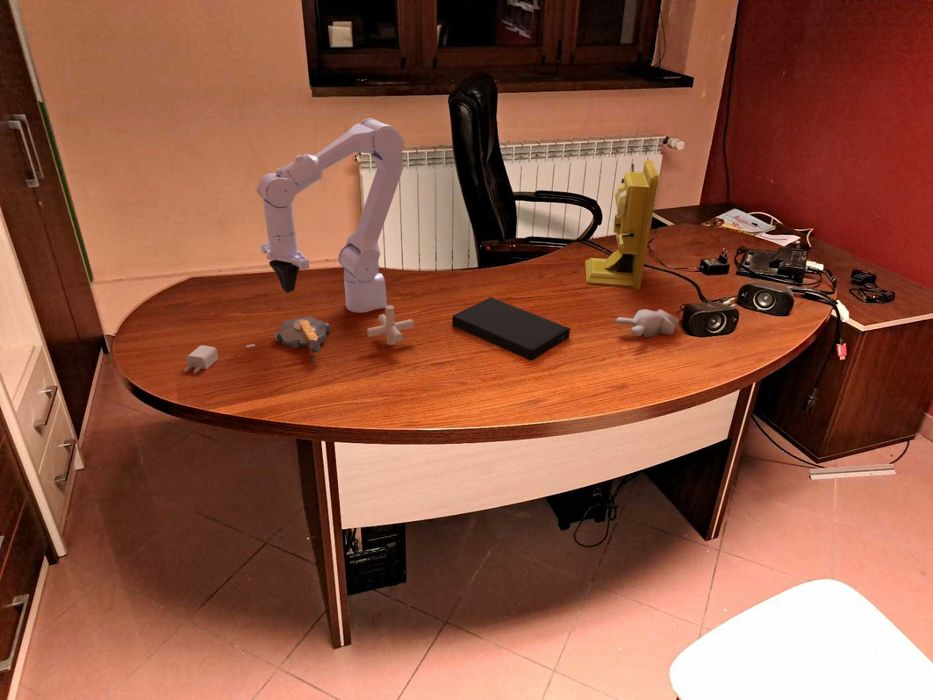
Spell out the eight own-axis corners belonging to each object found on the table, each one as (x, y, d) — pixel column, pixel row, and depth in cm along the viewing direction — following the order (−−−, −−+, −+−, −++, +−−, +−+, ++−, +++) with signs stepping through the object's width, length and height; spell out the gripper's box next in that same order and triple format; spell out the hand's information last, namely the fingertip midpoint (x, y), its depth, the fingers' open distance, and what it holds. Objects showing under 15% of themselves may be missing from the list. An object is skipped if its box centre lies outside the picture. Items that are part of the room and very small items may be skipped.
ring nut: (271, 330, 144) (268, 312, 142) (322, 320, 149) (320, 303, 147) (289, 366, 131) (287, 347, 129) (344, 354, 136) (343, 335, 134)
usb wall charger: (219, 364, 134) (216, 347, 132) (200, 381, 129) (196, 364, 127) (202, 361, 135) (198, 344, 133) (182, 378, 129) (178, 361, 127)
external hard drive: (491, 307, 161) (491, 296, 159) (569, 339, 148) (570, 327, 146) (452, 327, 151) (452, 315, 150) (531, 362, 138) (532, 350, 137)
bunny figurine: (690, 318, 148) (642, 325, 141) (683, 338, 151) (636, 346, 143) (660, 302, 156) (613, 308, 148) (655, 321, 158) (608, 328, 150)
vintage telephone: (584, 250, 195) (596, 148, 179) (631, 253, 193) (648, 151, 178) (586, 294, 168) (601, 179, 153) (641, 298, 166) (661, 182, 151)
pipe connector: (378, 364, 136) (375, 321, 131) (361, 342, 143) (359, 302, 138) (421, 353, 140) (421, 312, 135) (403, 333, 147) (402, 293, 142)
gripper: (245, 228, 139) (254, 286, 145) (286, 245, 130) (293, 306, 137) (273, 220, 143) (281, 277, 150) (314, 236, 135) (320, 295, 142)
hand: (289, 290), depth 144 cm, fingers closed
